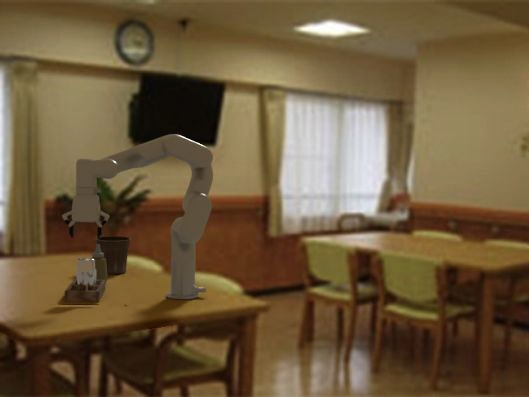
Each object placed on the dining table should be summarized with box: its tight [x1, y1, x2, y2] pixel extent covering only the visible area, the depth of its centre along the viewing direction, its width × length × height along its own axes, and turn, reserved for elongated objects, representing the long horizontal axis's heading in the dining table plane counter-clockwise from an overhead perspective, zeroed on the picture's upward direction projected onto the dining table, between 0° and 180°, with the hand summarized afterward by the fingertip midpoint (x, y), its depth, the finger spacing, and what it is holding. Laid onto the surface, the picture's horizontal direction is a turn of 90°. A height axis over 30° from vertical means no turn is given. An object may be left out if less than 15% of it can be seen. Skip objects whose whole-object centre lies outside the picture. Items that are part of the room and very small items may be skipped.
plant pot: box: [94, 235, 132, 276], centre depth 323 cm, size 16×16×16 cm
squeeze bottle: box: [91, 244, 109, 282], centre depth 288 cm, size 8×8×18 cm
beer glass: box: [75, 257, 95, 291], centre depth 262 cm, size 7×7×15 cm
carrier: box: [64, 279, 107, 306], centre depth 267 cm, size 12×23×5 cm, turn 7°
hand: (85, 237), depth 261 cm, fingers open, 9 cm apart
